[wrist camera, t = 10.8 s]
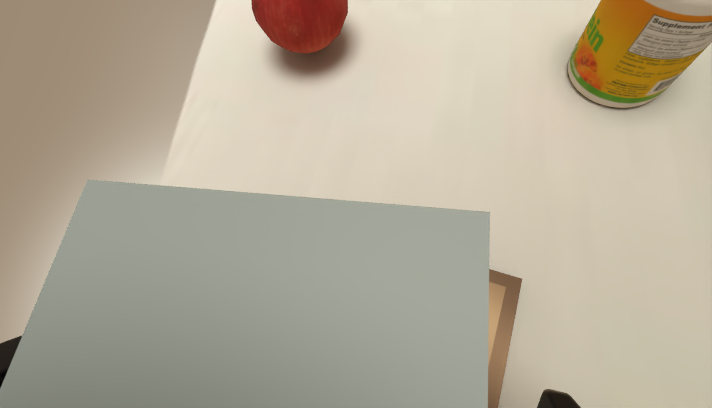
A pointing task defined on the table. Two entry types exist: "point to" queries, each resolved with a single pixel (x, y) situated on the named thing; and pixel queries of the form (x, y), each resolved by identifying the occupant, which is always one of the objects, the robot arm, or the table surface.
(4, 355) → the robot arm
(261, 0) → the onion
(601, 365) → the table surface
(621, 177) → the table surface
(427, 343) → the slate block
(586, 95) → the supplement bottle
